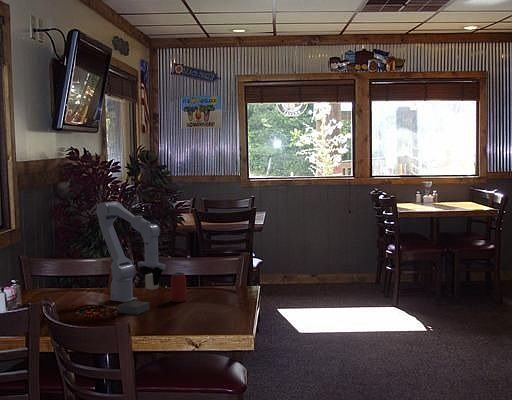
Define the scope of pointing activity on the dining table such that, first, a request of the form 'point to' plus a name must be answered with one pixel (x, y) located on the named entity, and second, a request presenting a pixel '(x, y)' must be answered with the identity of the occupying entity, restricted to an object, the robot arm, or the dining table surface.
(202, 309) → the dining table surface
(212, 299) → the dining table surface
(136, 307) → the plate
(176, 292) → the beer can
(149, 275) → the cream block
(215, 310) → the dining table surface
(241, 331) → the dining table surface
